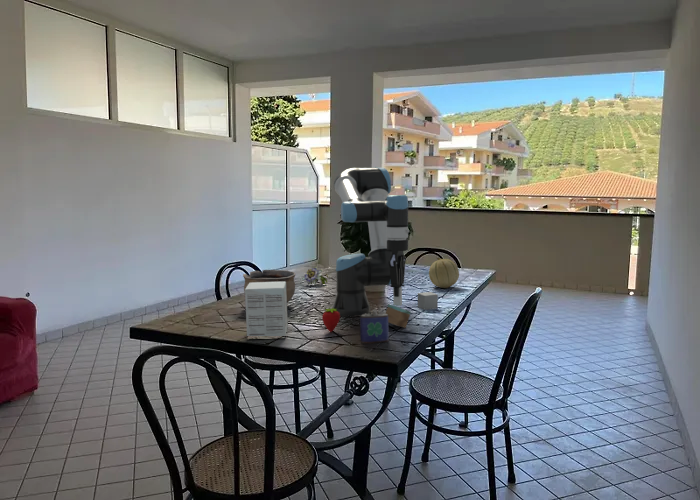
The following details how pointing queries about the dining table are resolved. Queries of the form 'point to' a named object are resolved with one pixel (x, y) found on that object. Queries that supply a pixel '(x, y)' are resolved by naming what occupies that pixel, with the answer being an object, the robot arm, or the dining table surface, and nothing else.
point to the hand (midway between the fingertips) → (397, 304)
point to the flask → (374, 328)
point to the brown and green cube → (397, 315)
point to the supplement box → (266, 309)
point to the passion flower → (314, 276)
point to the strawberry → (331, 318)
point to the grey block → (427, 300)
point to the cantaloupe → (443, 273)
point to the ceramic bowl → (273, 279)
